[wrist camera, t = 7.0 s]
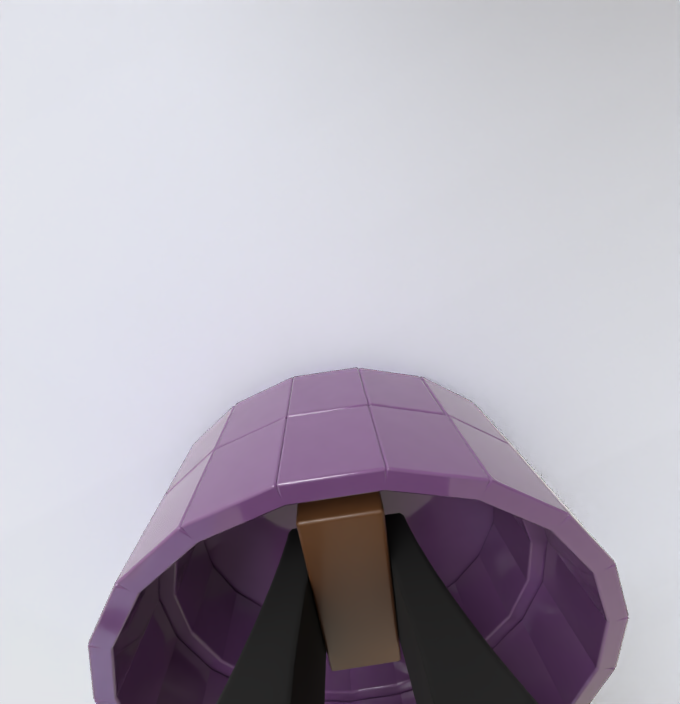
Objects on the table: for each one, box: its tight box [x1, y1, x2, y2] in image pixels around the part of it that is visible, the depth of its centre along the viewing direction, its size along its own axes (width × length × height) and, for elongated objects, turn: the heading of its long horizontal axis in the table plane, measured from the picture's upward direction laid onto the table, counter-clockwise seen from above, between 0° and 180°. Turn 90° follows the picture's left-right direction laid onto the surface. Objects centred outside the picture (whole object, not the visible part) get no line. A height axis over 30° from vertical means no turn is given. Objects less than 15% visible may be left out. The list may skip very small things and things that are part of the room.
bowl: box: [88, 368, 629, 704], centre depth 10 cm, size 12×12×5 cm
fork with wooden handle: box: [296, 491, 401, 671], centre depth 10 cm, size 9×3×3 cm, turn 8°
